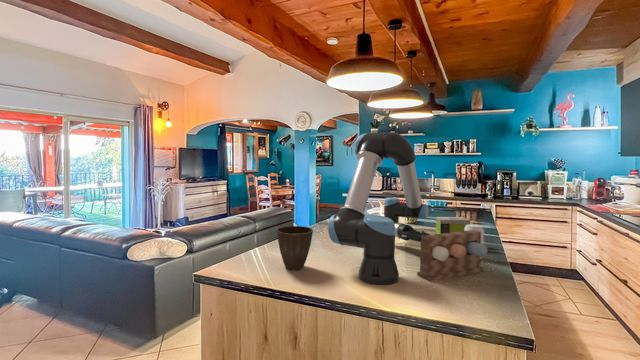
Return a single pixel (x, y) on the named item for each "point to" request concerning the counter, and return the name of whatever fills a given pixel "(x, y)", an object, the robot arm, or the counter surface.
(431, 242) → the brown wooden rectangular frame
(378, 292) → the counter surface
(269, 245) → the counter surface
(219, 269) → the counter surface
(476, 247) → the slate button
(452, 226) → the tea box
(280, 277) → the counter surface
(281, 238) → the plant pot
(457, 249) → the terracotta long rounded piece
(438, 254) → the ivory button
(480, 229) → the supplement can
